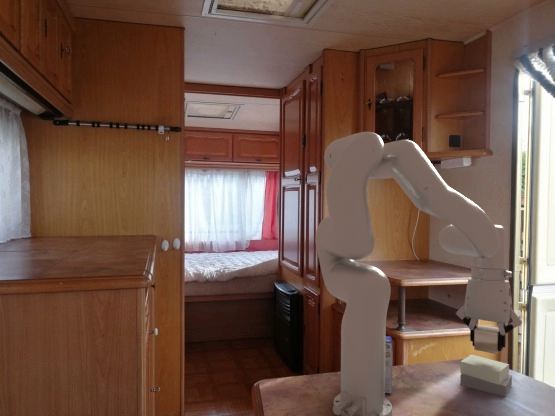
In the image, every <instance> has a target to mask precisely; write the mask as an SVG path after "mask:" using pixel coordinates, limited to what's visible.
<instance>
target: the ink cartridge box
mask: <svg viewBox="0 0 555 416" xmlns="http://www.w3.org/2000/svg"><path fill="white" fill-rule="evenodd" d="M392 390H393V339H392V336H387V335H386V351H385V394H393V391H392Z"/></svg>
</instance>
